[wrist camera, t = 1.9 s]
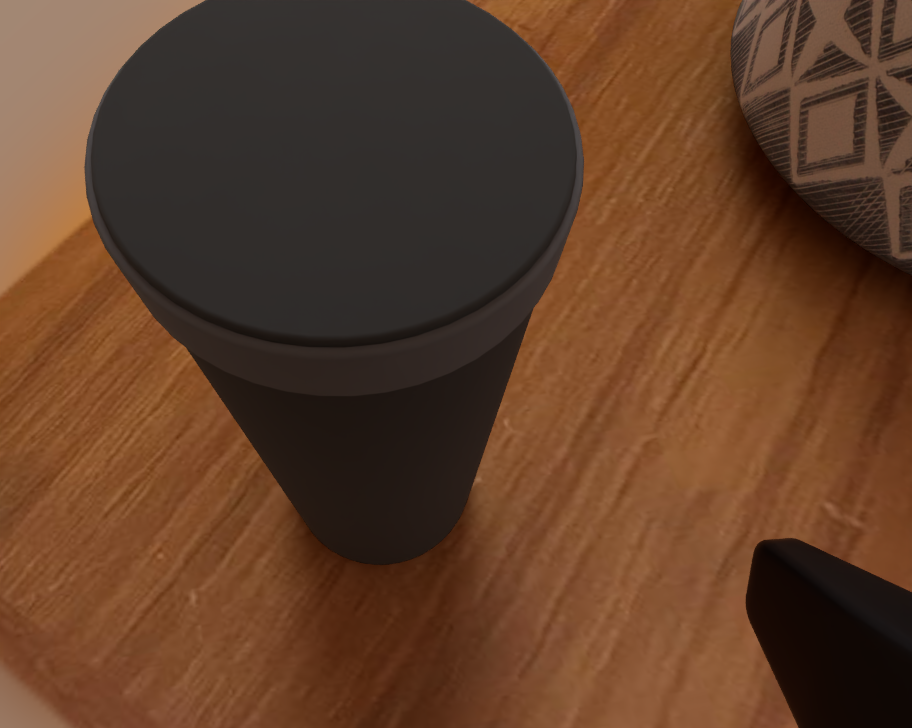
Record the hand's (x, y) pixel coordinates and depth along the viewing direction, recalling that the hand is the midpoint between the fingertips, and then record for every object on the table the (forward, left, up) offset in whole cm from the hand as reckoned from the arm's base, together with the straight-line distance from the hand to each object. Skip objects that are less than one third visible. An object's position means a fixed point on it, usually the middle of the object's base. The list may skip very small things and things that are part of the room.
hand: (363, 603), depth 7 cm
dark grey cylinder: (+4, 0, -11) cm, 12 cm away
